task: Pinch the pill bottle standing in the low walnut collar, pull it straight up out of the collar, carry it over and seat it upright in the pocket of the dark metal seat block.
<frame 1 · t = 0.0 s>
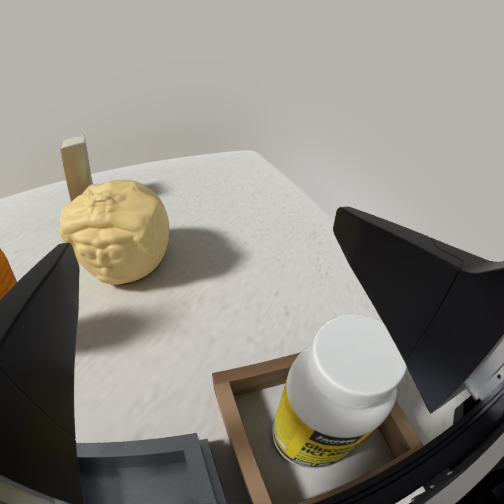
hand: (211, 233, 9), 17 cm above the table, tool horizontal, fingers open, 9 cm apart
pill bottle: (312, 434, 19), resting in walnut collar
sculpture: (127, 266, 34), on the table
carrot: (30, 346, 23), on the table
walnut collar: (313, 433, 19), on the table
skincare box: (85, 207, 46), on the table
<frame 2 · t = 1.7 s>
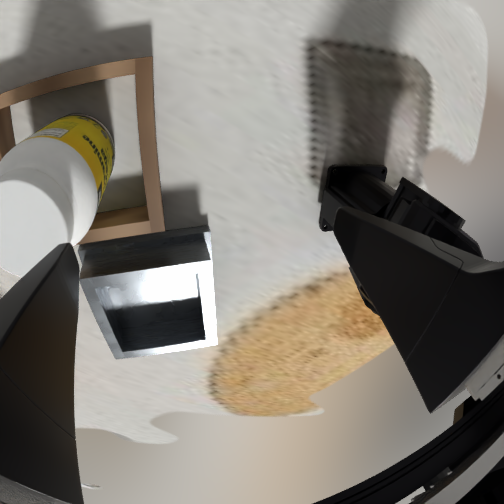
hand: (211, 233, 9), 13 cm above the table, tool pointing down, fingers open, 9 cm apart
pill bottle: (77, 153, 18), resting in walnut collar
dark metal seat block: (152, 285, 26), on the table
walnut collar: (76, 153, 18), on the table
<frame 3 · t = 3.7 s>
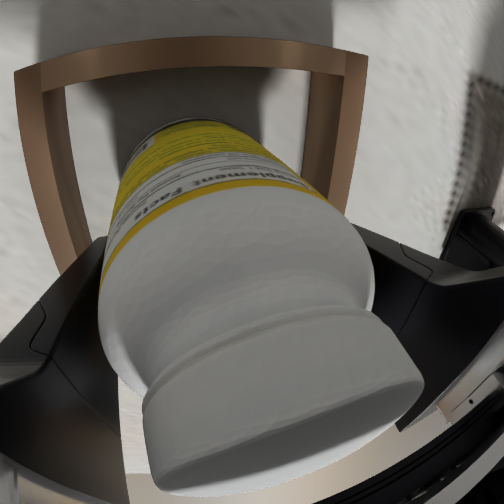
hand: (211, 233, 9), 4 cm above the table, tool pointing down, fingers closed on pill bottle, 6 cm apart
pill bottle: (193, 182, 13), resting in walnut collar, touching gripper
walnut collar: (194, 184, 12), on the table
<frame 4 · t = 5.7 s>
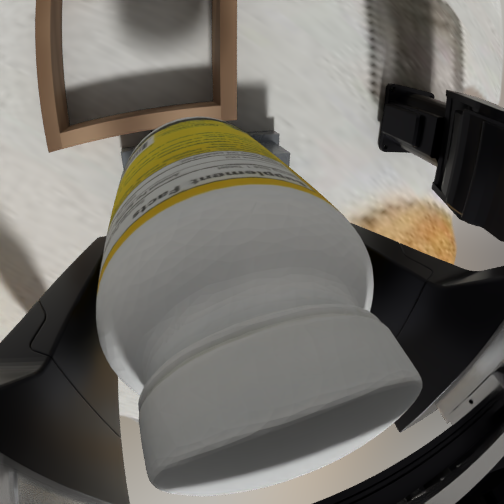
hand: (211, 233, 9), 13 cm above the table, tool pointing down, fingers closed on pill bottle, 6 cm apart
pill bottle: (193, 182, 13), point 9 cm above the table, touching gripper
dark metal seat block: (204, 205, 23), on the table
walnut collar: (135, 40, 14), on the table
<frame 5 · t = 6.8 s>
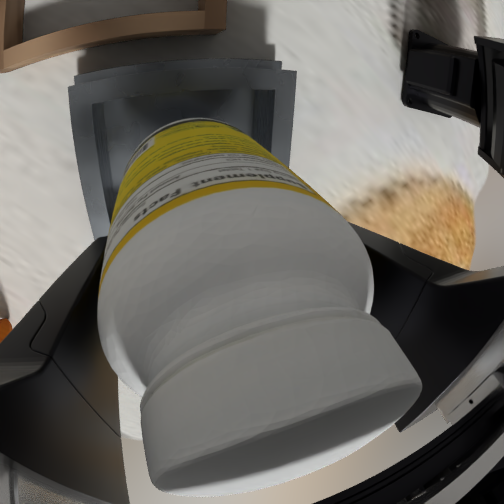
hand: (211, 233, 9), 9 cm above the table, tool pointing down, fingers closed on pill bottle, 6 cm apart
pill bottle: (194, 183, 13), point 5 cm above the table, touching gripper
carrot: (7, 317, 18), on the table
dark metal seat block: (180, 153, 16), on the table
when the fingers open (6 cm above the table, at t = 7.7 s): pill bottle drops 1 cm, resting on dark metal seat block.
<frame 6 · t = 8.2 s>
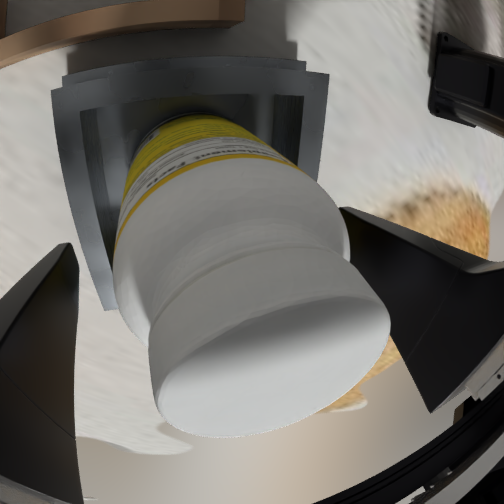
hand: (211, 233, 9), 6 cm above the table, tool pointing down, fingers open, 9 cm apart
pill bottle: (194, 171, 14), point 1 cm above the table, touching dark metal seat block
dark metal seat block: (187, 166, 14), on the table
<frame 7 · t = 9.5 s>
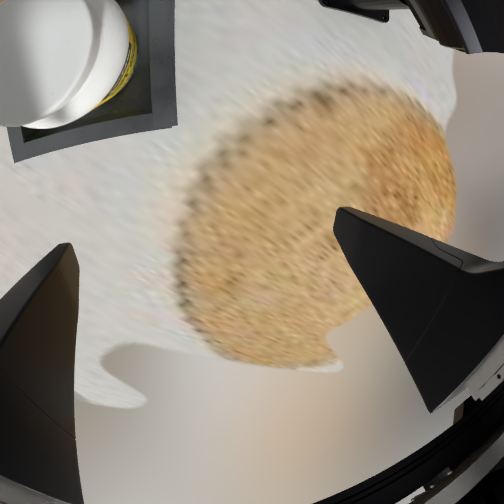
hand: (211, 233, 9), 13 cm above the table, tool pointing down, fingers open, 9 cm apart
pill bottle: (92, 59, 13), point 1 cm above the table, touching dark metal seat block
dark metal seat block: (91, 60, 14), on the table
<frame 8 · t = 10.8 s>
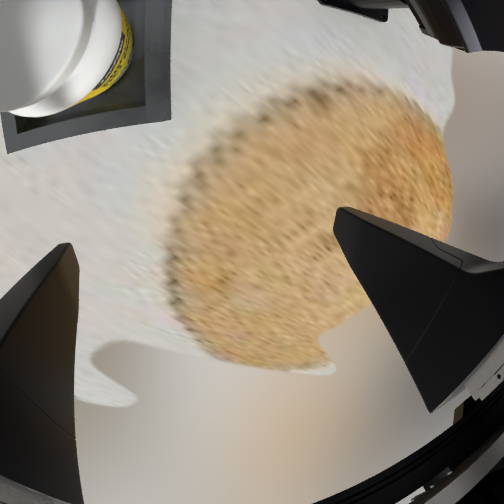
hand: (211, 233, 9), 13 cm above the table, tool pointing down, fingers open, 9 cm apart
pill bottle: (88, 52, 13), point 1 cm above the table, touching dark metal seat block
dark metal seat block: (87, 53, 14), on the table
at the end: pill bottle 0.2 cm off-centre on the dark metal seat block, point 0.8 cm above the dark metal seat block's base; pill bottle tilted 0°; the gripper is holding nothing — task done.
